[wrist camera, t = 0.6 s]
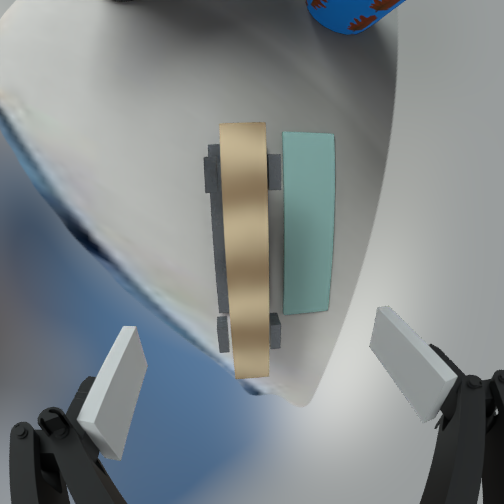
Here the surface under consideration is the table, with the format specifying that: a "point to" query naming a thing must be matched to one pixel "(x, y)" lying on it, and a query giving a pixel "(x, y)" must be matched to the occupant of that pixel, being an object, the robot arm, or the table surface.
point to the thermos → (350, 13)
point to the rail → (246, 243)
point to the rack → (215, 189)
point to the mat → (308, 220)
